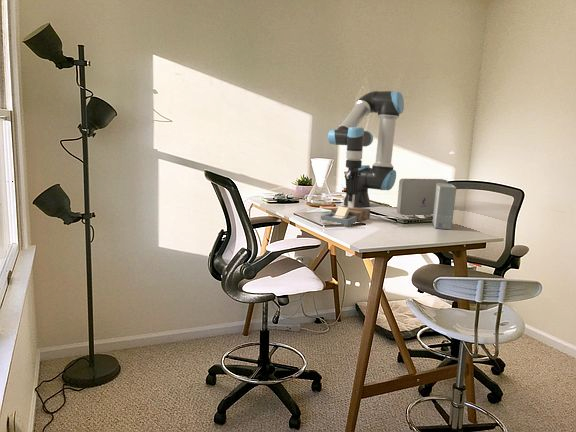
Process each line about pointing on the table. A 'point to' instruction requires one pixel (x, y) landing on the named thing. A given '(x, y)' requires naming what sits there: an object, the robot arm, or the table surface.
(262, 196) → the table surface
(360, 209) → the bench plate
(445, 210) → the hard drive box
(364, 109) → the robot arm
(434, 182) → the network device
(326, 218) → the box
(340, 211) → the tile
